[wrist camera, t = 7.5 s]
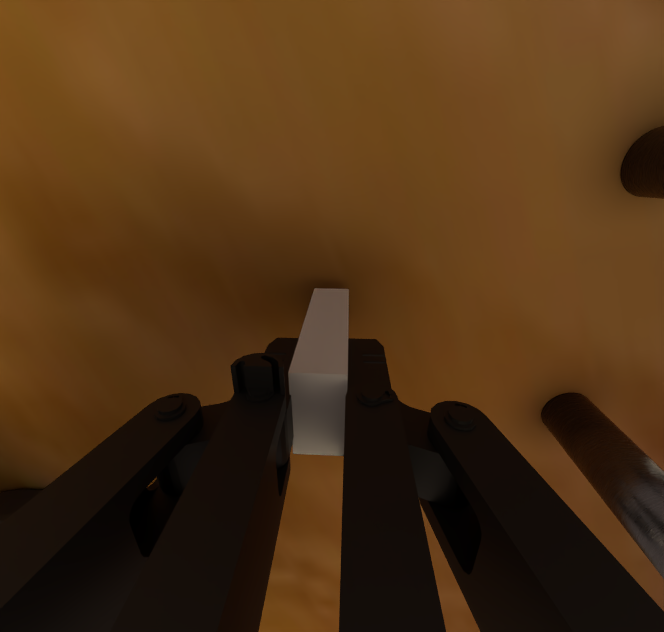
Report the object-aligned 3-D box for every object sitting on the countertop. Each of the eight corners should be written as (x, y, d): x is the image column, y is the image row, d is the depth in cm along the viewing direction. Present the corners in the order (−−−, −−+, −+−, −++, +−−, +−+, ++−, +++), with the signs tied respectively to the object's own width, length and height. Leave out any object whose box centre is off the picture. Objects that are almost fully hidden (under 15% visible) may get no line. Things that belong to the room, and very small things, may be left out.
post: (536, 429, 19) (680, 628, 11) (548, 392, 18) (718, 581, 10) (583, 431, 19) (765, 634, 11) (598, 393, 18) (813, 586, 9)
